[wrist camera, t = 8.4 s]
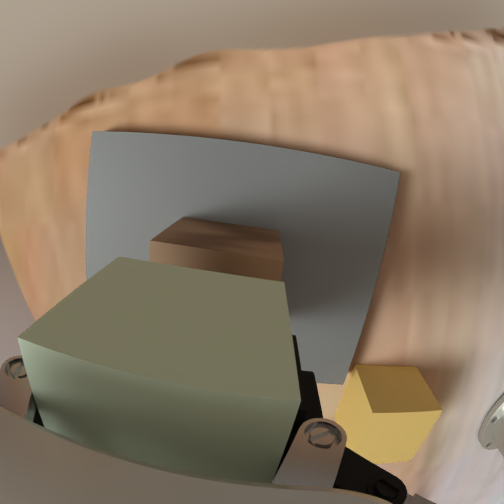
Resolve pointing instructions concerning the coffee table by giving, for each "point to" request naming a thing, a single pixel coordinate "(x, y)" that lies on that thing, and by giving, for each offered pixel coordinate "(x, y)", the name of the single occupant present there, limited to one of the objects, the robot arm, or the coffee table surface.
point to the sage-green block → (170, 368)
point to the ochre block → (386, 412)
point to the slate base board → (253, 221)
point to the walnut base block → (220, 248)
